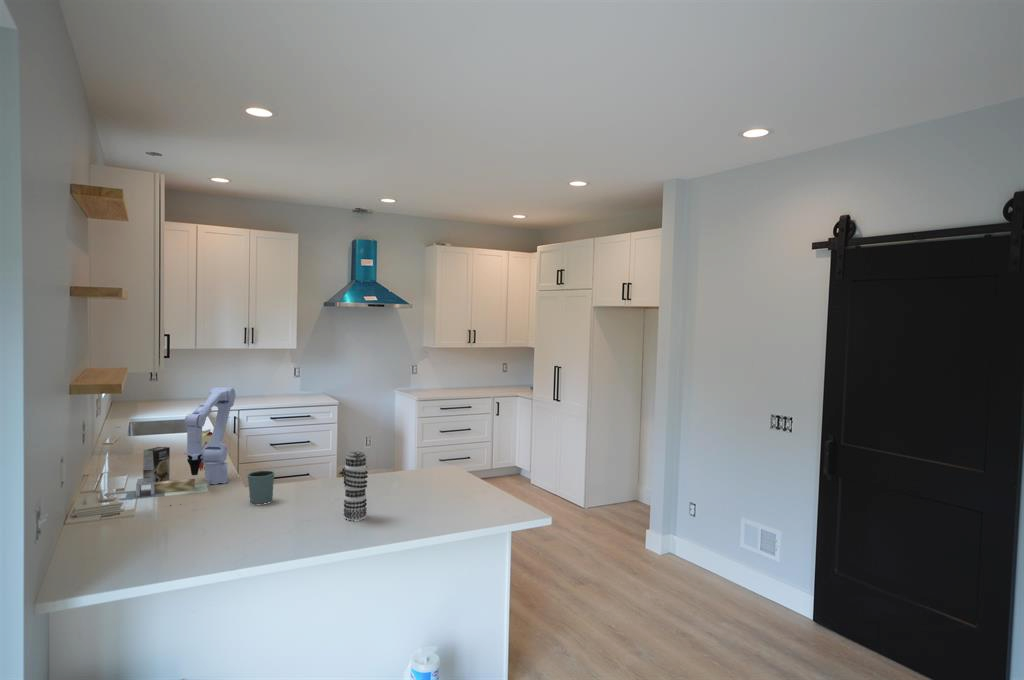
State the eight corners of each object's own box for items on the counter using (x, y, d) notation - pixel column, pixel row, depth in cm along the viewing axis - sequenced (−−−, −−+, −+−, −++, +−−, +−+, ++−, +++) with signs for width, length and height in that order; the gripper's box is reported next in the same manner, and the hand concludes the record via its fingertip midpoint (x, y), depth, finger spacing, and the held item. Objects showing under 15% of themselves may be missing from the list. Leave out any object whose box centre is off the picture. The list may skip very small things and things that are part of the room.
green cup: (278, 502, 252) (278, 473, 252) (254, 507, 244) (254, 477, 244) (267, 497, 259) (267, 469, 258) (243, 502, 251) (243, 473, 251)
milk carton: (220, 467, 309) (221, 428, 309) (203, 471, 301) (203, 430, 301) (210, 465, 314) (210, 426, 313) (192, 468, 306) (193, 428, 306)
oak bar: (194, 487, 266) (194, 478, 266) (194, 490, 262) (194, 480, 262) (154, 491, 259) (155, 482, 259) (154, 493, 255) (154, 484, 255)
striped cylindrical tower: (340, 515, 236) (341, 451, 236) (365, 513, 240) (365, 449, 239) (344, 522, 228) (345, 456, 227) (369, 520, 232) (370, 454, 231)
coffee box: (154, 487, 271) (155, 450, 271) (142, 486, 273) (142, 450, 272) (170, 481, 280) (170, 447, 280) (158, 481, 282) (158, 446, 281)
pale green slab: (206, 487, 273) (206, 483, 273) (207, 495, 260) (207, 491, 260) (105, 496, 255) (105, 493, 255) (100, 506, 242) (100, 502, 242)
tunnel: (155, 490, 261) (155, 477, 261) (154, 495, 253) (154, 482, 253) (137, 491, 258) (137, 478, 258) (136, 497, 250) (136, 483, 250)
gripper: (184, 439, 268) (184, 470, 269) (184, 445, 255) (184, 477, 256) (202, 438, 271) (202, 468, 272) (203, 444, 259) (202, 476, 259)
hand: (194, 472), depth 264 cm, fingers open, 7 cm apart
